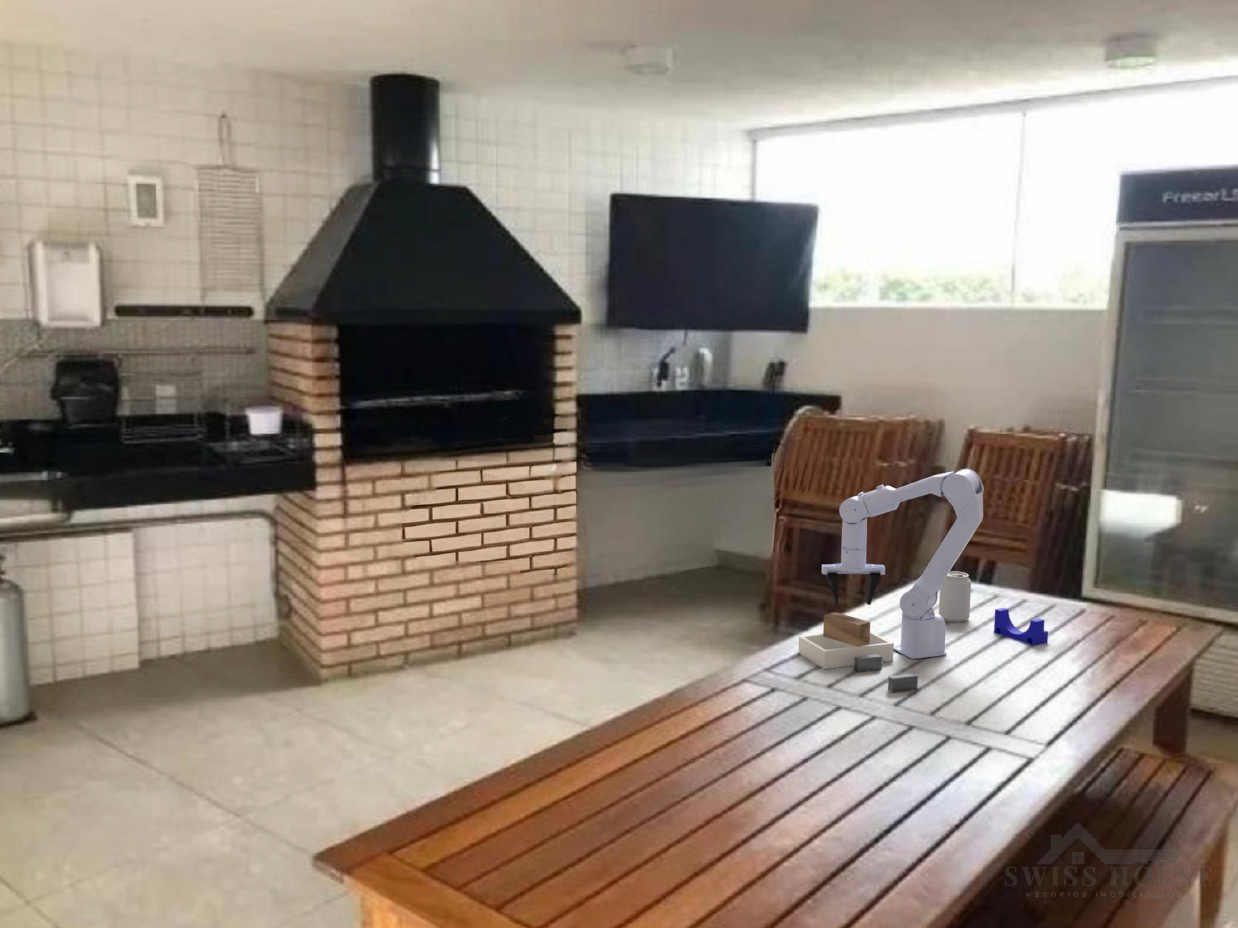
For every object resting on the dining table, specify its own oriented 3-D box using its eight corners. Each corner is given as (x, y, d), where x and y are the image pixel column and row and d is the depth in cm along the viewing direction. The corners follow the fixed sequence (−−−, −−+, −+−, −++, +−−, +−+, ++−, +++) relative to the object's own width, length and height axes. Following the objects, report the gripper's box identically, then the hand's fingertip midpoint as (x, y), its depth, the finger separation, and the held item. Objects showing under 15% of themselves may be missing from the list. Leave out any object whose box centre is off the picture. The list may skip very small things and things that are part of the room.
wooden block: (834, 632, 243) (835, 612, 242) (869, 643, 235) (870, 621, 234) (823, 636, 240) (823, 615, 240) (858, 646, 233) (859, 625, 232)
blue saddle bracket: (1047, 643, 249) (1048, 619, 248) (1034, 646, 246) (1035, 621, 246) (1006, 630, 259) (1007, 606, 258) (993, 633, 257) (995, 609, 256)
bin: (864, 645, 247) (865, 628, 246) (893, 660, 236) (893, 643, 235) (798, 652, 241) (798, 636, 240) (824, 668, 230) (824, 651, 230)
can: (973, 623, 264) (975, 577, 262) (943, 623, 264) (945, 576, 263) (964, 614, 271) (966, 569, 270) (935, 614, 272) (937, 569, 270)
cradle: (877, 666, 231) (878, 653, 231) (917, 689, 217) (917, 675, 217) (853, 669, 229) (854, 656, 229) (892, 692, 216) (892, 678, 215)
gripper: (825, 551, 242) (824, 608, 244) (889, 551, 242) (886, 608, 244) (820, 544, 249) (819, 599, 251) (882, 544, 249) (880, 600, 251)
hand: (852, 603), depth 248 cm, fingers open, 7 cm apart
